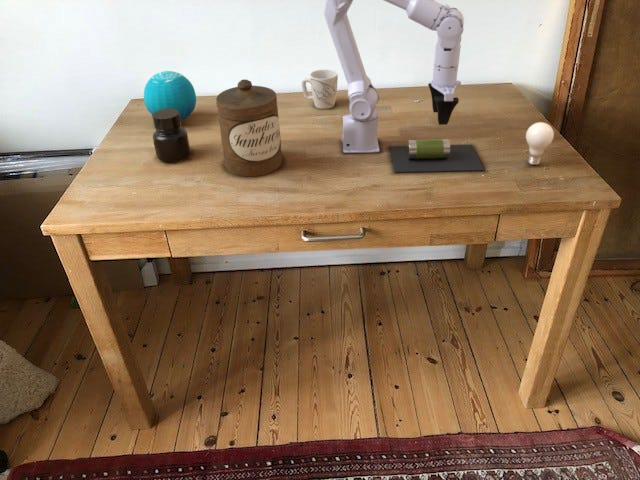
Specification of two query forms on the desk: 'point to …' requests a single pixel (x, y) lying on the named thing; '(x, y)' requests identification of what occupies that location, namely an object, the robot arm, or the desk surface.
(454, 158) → the mat
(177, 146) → the ink bottle
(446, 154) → the can
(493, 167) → the desk surface
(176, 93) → the decorative orb
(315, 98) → the mug
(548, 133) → the lightbulb
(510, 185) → the desk surface
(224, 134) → the wooden container
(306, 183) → the desk surface
